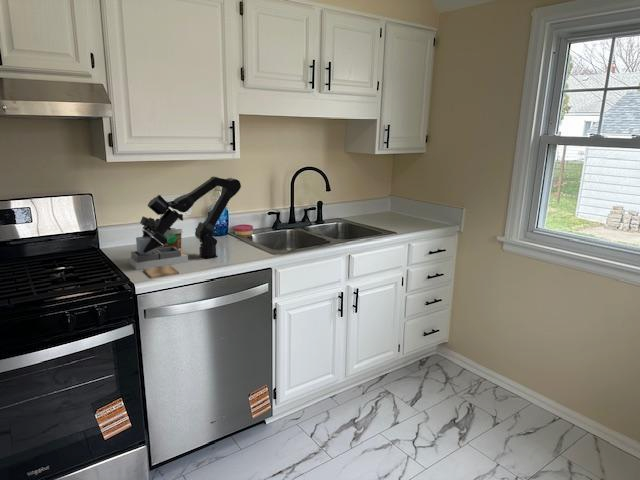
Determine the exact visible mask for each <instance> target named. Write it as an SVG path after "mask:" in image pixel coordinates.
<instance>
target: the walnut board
mask: <svg viewBox="0 0 640 480" xmlns="http://www.w3.org/2000/svg"><path fill="white" fill-rule="evenodd" d="M142 270H143V272H144V273H145V274H146V275H147V276H148V277H149V278H151V279H155V278H162V277H166V276H167V277H168V276H173V275H179V274H180V271H178V270H177V269H176V268H174V267H173V266H172V265H165V266H158V267H152V268H145V269H142Z"/></svg>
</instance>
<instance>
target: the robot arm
mask: <svg viewBox="0 0 640 480" xmlns="http://www.w3.org/2000/svg"><path fill="white" fill-rule="evenodd" d="M216 187H220V188H221V193H220V195H219V197H218V199H217V201H216V202H215V203H214V206H213V207H212V209H211V211H210V212H209V215H208V216H207V217H206V219H205V220H204V221H203V222H201V221H200V222H198V225H197V227H196V228H195V229H194V231H195V232H194V234H195V235H194V236H195V237H196V239H197V240H199V242H200V244H199V257H201V258H203V259H204V260H206V259H212V258H213V259H214V258H218V257H219V256H218V255H217V244H218V239H216V238H215V237H214V233H215V227H216V225H217V222H218V221H219V219H220V217H221V216H222V214H223V213H224V210H225V209H226V208H227V205H228V203H229V202H230V200H231V199H232V198H233V197H234V196H235V195H236V194H238V193H239V191H240V190H241V188H242V184H241V181H240V180H238V179H237V178H232V177H228V178H221V177H218V176H215V175H214V176H211V177H210V178H209V179H208V180H206V181H205V182H203V183H202V184H201V185H199V186H197V187H196V188H195V189H193V190H192V191H191V192H189V193H186V194H185V193H184V194H182V195H180V196H178V197H176V198H175V199H173V200H170V201H167V200H165V198H163V196H161V195H160V194H157V195H156V196H155V197H153V198H152V199H151V200H150V201H149V202H148V203H147V207H148V209H151V211H153V212H154V213H155V214H156V215H157V216H159V215H161V217H159V218H156V219H154V218H152V217H146V216H142V217H141V220H140V222H139V224H141V226H143V227H142V236H141V237H145V236H149V237H150V241H149V243H148V244H147V246H146V247H145V249H144V250H143V252H144V253H146V252H148V251H150V250H154V249H157V248H159V247H160V248H161V247H163V246H164V245H165V244H166V243H167V238H165V237H164V234H165V233H166V232H167V231H168V230H170V229H171V228H172V226H173V225H174V224H175V223H176V221H178V220H179V221H182V222H183V221H184V214H182V213H186V212H188V211H189V210H190V209H191V208H192V207H193V206H194V204H195V203H196V202H197V201H198V200H199V199H201V198H202V197H204V196H205V195H206V194H208V193H209V192H211V191H212V190H214V189H215V188H216ZM177 211H178V212H177ZM179 212H180V213H179Z"/></svg>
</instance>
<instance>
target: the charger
mask: <svg viewBox="0 0 640 480" xmlns="http://www.w3.org/2000/svg"><path fill="white" fill-rule="evenodd" d="M135 240H136V241H135V242H136V251H137V255H138V256H142V255H150V254H153V252H152V250H150V251H148V252H146V253H144V252H143V250H144V249H145V247H146V246H147V244H148V243H149V241H150V237H149V236H145V237H142V236H140V237H139V236H137V237H135Z"/></svg>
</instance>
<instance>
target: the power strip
mask: <svg viewBox="0 0 640 480" xmlns="http://www.w3.org/2000/svg"><path fill="white" fill-rule="evenodd" d="M152 252H153V254H150V255H142V256H138V255H137V250H135V251H130V254H131V255H130V256H131V257H130V265H131V266H132V267H133V268H134V269H135V270H136V271H138V270H143V269H147V268H154V267H160V266H167V265H171V266H172V265H176V264H183V263H188V262H189V256H188V254H186V253H185V251H184V250H182V249H181V250H180V249H177V248H176V247H174V246H173V247H160V248H159V247H157V248H155V249H153V250H152Z"/></svg>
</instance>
